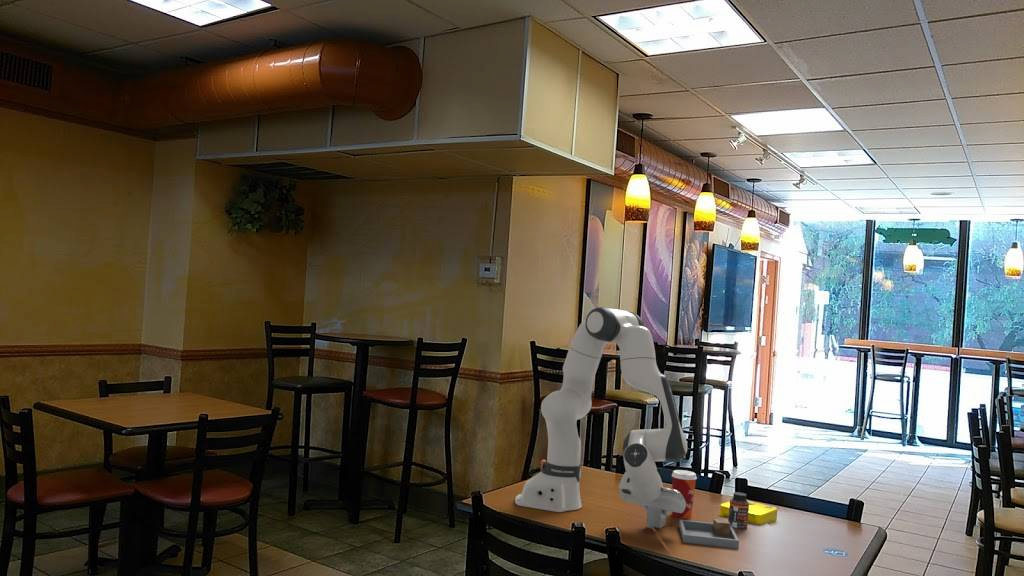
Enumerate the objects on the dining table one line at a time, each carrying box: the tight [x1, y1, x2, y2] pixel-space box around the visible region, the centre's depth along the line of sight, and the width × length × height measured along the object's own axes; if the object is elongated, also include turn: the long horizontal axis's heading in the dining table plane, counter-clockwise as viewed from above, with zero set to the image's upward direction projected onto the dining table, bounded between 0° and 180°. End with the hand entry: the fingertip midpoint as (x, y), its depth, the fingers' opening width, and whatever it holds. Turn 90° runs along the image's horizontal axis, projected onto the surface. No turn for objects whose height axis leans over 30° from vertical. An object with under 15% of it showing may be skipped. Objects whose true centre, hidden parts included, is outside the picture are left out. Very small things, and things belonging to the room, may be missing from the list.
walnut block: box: [712, 518, 731, 537], centre depth 226 cm, size 4×4×4 cm
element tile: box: [719, 499, 778, 525], centre depth 250 cm, size 15×15×5 cm
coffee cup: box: [671, 469, 698, 520], centre depth 244 cm, size 8×8×15 cm
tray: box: [678, 519, 740, 549], centre depth 222 cm, size 16×16×3 cm
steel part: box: [646, 506, 667, 530], centre depth 232 cm, size 4×4×10 cm
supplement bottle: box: [727, 491, 749, 531], centre depth 236 cm, size 6×6×11 cm
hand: (657, 511), depth 232 cm, fingers open, 5 cm apart
